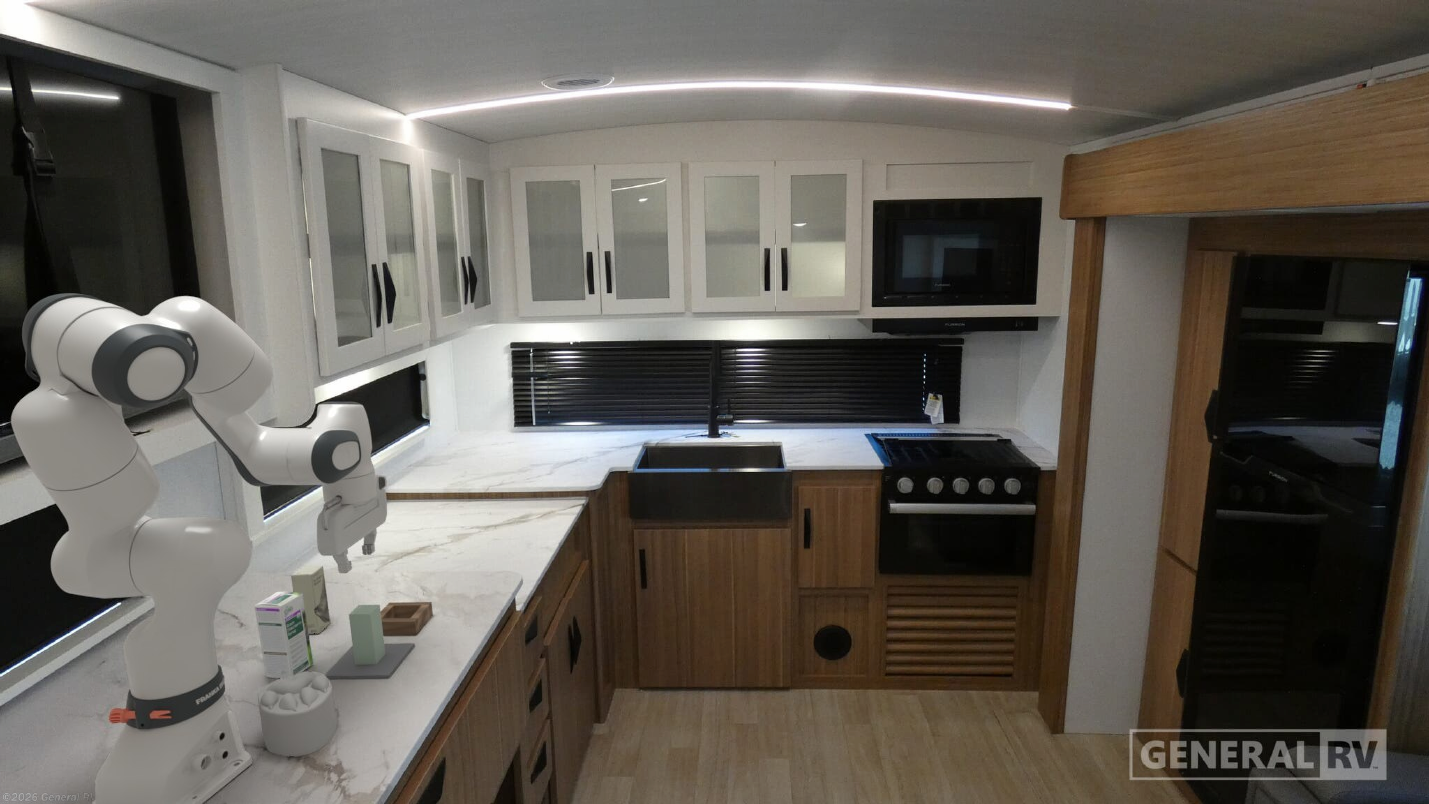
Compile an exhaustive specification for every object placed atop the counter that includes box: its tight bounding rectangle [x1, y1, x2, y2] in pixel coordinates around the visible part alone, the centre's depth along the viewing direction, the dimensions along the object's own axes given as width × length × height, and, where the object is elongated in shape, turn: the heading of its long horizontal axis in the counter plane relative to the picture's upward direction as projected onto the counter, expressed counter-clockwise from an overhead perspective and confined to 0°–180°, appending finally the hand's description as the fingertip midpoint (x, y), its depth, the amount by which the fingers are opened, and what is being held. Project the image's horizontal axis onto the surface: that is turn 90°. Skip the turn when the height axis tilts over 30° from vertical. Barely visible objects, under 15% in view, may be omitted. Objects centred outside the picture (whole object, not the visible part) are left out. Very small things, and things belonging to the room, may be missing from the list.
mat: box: [324, 642, 416, 680], centre depth 155 cm, size 12×12×1 cm
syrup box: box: [253, 591, 314, 679], centre depth 152 cm, size 6×6×14 cm
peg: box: [348, 604, 385, 665], centre depth 154 cm, size 4×4×10 cm
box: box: [290, 565, 331, 635], centre depth 169 cm, size 5×4×13 cm
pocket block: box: [380, 601, 434, 637], centre depth 170 cm, size 9×9×3 cm
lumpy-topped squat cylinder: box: [257, 671, 338, 758], centre depth 132 cm, size 10×13×9 cm
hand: (357, 562), depth 151 cm, fingers open, 8 cm apart
